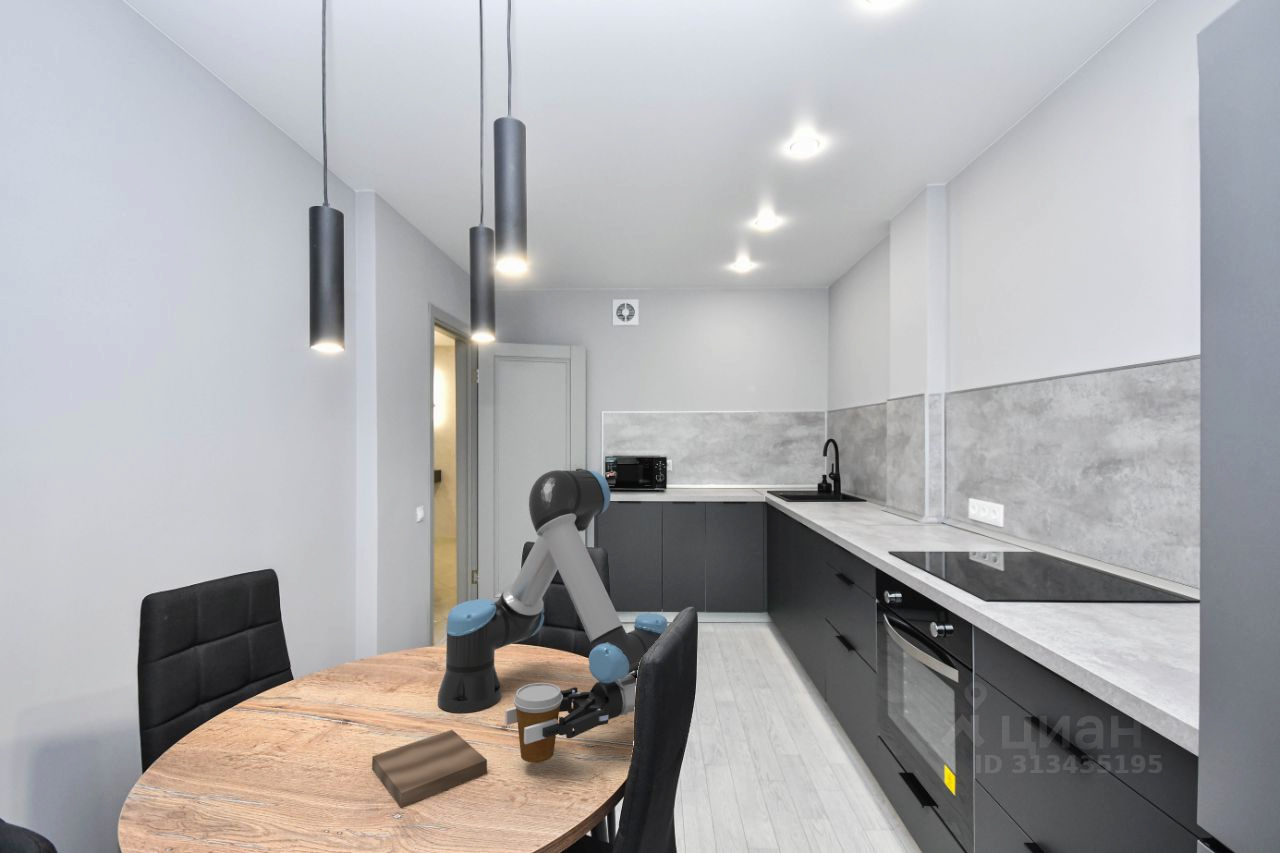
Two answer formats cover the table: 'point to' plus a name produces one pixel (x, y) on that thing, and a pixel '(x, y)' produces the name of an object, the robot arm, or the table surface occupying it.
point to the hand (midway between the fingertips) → (515, 726)
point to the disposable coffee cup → (537, 717)
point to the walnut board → (428, 767)
